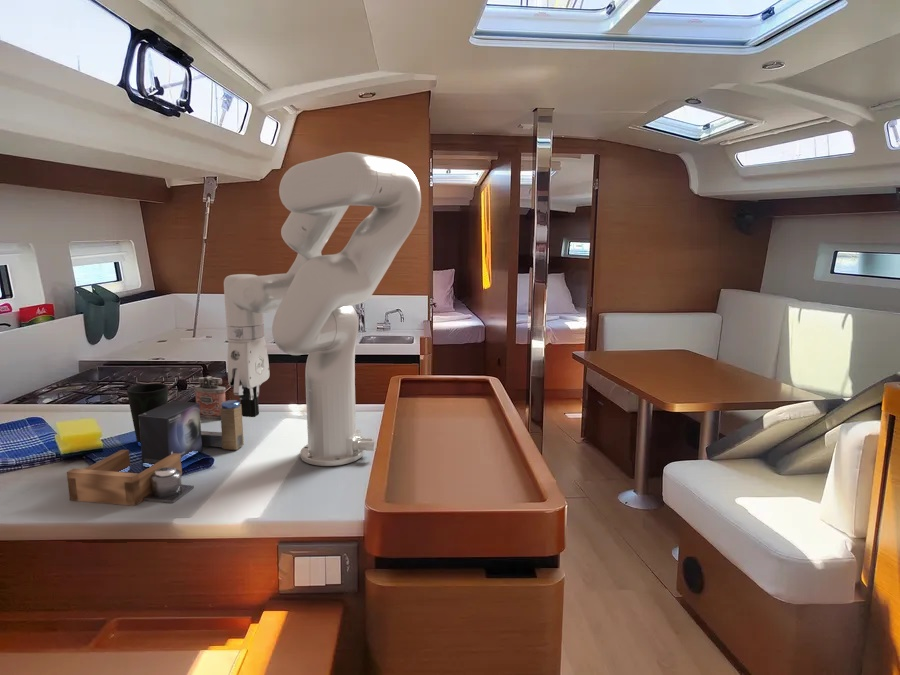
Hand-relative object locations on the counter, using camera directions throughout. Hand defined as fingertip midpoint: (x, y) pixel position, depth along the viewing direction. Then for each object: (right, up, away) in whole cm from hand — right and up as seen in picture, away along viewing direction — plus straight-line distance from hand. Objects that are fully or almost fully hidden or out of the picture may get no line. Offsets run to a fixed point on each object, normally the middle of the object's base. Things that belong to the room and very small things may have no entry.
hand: (250, 415), depth 131 cm
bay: (-13, -9, -25) cm, 30 cm away
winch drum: (-5, -10, -28) cm, 30 cm away
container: (-7, -6, -6) cm, 11 cm away
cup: (-20, -5, -4) cm, 21 cm away
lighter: (-14, -2, +13) cm, 19 cm away
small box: (-11, -7, -13) cm, 18 cm away
